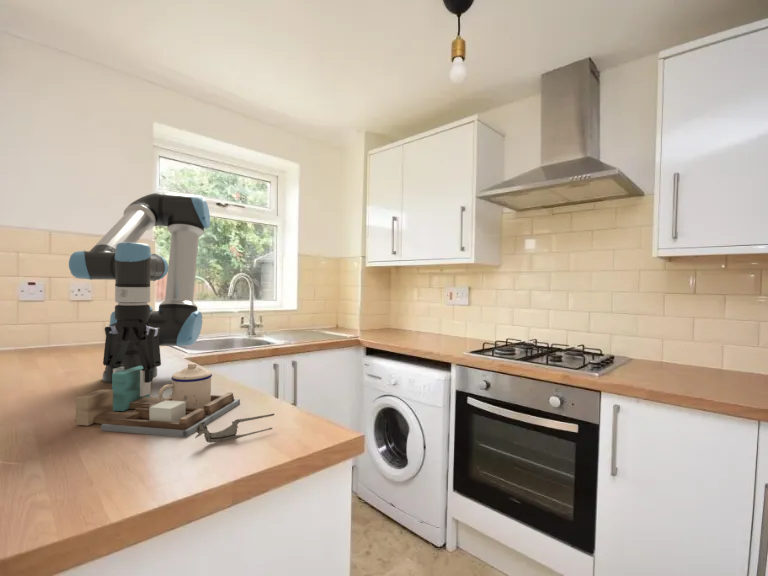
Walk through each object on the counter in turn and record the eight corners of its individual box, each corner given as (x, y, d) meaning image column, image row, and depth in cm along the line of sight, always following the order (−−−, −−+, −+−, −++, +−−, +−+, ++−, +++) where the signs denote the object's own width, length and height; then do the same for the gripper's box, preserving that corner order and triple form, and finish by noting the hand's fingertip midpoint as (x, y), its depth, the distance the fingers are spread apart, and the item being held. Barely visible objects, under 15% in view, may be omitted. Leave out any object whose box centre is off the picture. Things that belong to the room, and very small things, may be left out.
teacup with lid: (203, 402, 103) (204, 358, 103) (217, 410, 97) (218, 364, 97) (152, 412, 95) (153, 364, 94) (164, 422, 88) (165, 371, 88)
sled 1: (103, 413, 92) (103, 388, 92) (205, 421, 89) (205, 395, 89) (73, 425, 84) (73, 398, 84) (184, 434, 81) (184, 405, 81)
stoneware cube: (165, 422, 89) (165, 400, 88) (185, 423, 88) (185, 401, 88) (149, 430, 84) (149, 407, 84) (170, 431, 83) (170, 408, 83)
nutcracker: (273, 429, 86) (273, 407, 86) (274, 430, 85) (275, 408, 85) (194, 448, 75) (194, 422, 75) (195, 449, 75) (195, 424, 75)
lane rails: (170, 399, 105) (171, 394, 105) (239, 403, 102) (239, 399, 102) (100, 430, 83) (101, 424, 83) (186, 437, 80) (186, 431, 80)
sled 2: (143, 397, 105) (143, 364, 105) (233, 403, 101) (234, 369, 101) (107, 412, 93) (107, 374, 93) (208, 419, 90) (208, 380, 90)
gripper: (84, 303, 96) (83, 395, 96) (158, 306, 93) (156, 400, 94) (109, 302, 103) (109, 387, 104) (178, 304, 101) (177, 392, 101)
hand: (131, 393), depth 99 cm, fingers open, 7 cm apart
